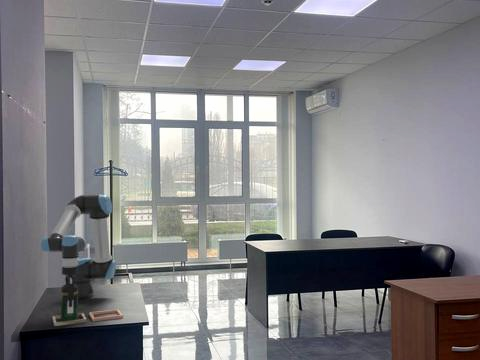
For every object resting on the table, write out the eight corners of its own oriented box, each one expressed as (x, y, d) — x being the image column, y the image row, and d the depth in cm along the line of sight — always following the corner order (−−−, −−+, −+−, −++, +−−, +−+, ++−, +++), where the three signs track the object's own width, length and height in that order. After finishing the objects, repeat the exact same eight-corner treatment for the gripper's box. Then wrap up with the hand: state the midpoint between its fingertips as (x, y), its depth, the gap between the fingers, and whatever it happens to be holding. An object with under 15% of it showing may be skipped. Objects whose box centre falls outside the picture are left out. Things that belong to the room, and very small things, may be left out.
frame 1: (52, 319, 236) (52, 316, 236) (83, 315, 242) (83, 313, 242) (54, 326, 224) (54, 322, 224) (86, 322, 230) (86, 319, 230)
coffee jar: (77, 322, 230) (77, 285, 230) (60, 324, 227) (60, 286, 228) (77, 317, 239) (78, 281, 239) (61, 318, 236) (61, 282, 237)
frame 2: (89, 315, 243) (89, 312, 243) (118, 312, 250) (118, 309, 250) (92, 321, 232) (92, 318, 232) (122, 318, 238) (122, 315, 238)
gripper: (60, 263, 242) (59, 306, 241) (63, 270, 222) (63, 317, 222) (75, 262, 245) (74, 305, 245) (80, 269, 225) (79, 315, 225)
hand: (69, 310), depth 233 cm, fingers closed on coffee jar, 9 cm apart
